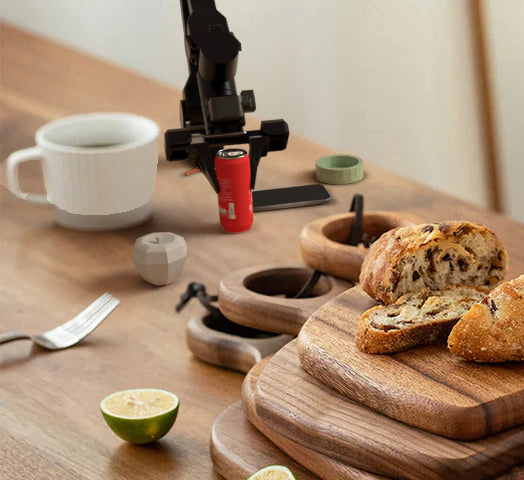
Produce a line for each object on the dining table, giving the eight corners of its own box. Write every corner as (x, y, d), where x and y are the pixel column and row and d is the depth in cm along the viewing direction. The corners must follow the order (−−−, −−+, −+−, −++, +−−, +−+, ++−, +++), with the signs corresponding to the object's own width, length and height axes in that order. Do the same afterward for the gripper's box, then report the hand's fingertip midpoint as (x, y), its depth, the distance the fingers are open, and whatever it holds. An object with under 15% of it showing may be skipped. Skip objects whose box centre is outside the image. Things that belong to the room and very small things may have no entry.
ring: (306, 175, 187) (306, 160, 186) (344, 165, 192) (344, 151, 190) (334, 187, 181) (333, 173, 180) (372, 177, 186) (372, 162, 184)
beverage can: (217, 223, 168) (211, 149, 162) (250, 219, 169) (244, 146, 164) (223, 236, 164) (217, 160, 158) (257, 231, 165) (252, 156, 159)
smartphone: (234, 192, 178) (322, 183, 181) (234, 197, 178) (322, 187, 181) (241, 209, 171) (333, 198, 174) (241, 213, 172) (333, 202, 175)
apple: (175, 295, 145) (170, 251, 142) (123, 288, 148) (117, 244, 145) (201, 272, 152) (197, 229, 149) (151, 265, 154) (146, 222, 151)
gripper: (158, 76, 157) (173, 173, 153) (284, 66, 161) (302, 160, 157) (158, 114, 167) (173, 205, 163) (276, 103, 171) (294, 192, 167)
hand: (235, 190), depth 162 cm, fingers closed on beverage can, 5 cm apart
